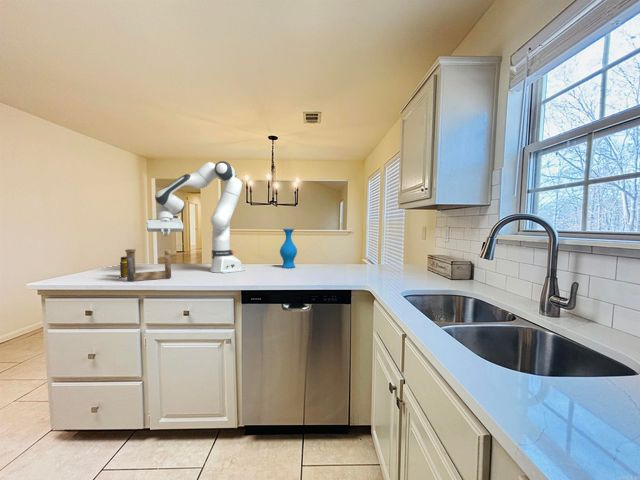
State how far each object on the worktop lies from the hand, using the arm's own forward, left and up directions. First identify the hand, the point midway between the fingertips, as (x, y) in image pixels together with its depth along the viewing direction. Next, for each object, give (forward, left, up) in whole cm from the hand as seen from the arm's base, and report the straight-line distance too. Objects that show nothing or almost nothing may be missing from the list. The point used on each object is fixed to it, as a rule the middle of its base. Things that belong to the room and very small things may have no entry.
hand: (166, 235), depth 175 cm
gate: (+9, +14, -24) cm, 29 cm away
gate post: (+18, +11, -24) cm, 32 cm away
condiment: (+22, -3, -24) cm, 33 cm away
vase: (-78, +10, -24) cm, 83 cm away
